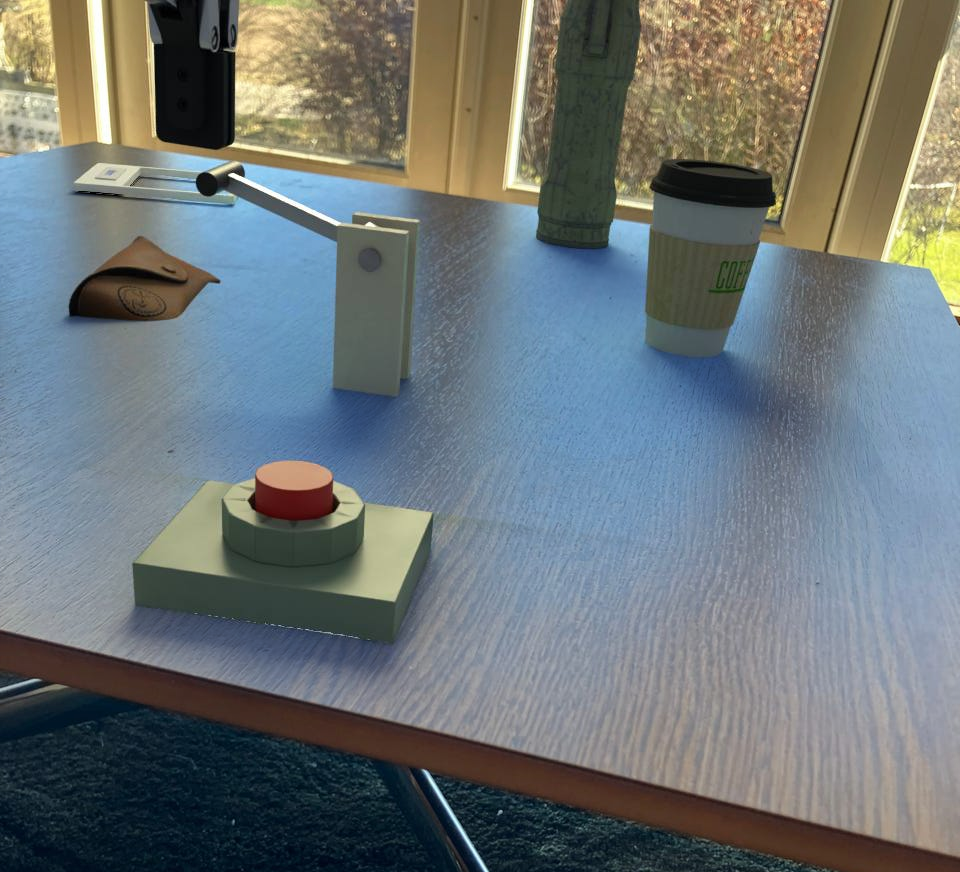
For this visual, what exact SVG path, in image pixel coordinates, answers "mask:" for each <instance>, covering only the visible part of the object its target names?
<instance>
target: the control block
mask: <svg viewBox="0 0 960 872" xmlns="http://www.w3.org/2000/svg"><path fill="white" fill-rule="evenodd" d="M434 516H435V514H434V512H432V511H425V510H417V509H411V508H406V507H405V508H404V507H397V506H391V505H390V506H389V505H383V504H376V503H370V502H369V503H368V502H365V501H363V499H362V498H361V497H360V495H359V494H358V493H357V491H356V490H355V489H354V488H353V487H350V486H347V485H345V484H343V483H340V482H338V481H335V480H333V505H332V513H331V514H329V515H326V516H324V517H321V518H319V519H313V520H300V521H290V520H283V519H276V518H270V517H267V516H265V515H263V514H261V513H259V512H257V511H256V509H255V477H252V478H249V479H247V480H244V481H241V482H238V483H231V482H224V481H217V480H210V479H208V480H206V482H204V484H203V485H202V486H200V488H199V489H198V490H197V492H195V494H194V495H193V496H192V497H191V498H190V499H189V500H188V501H187V502H186V503H185V504H184V506H183V507H182V508H181V509H180V510H179V511H178V513H176V514H175V516H173V518H172V519H170V521H169V522H168V523H167V524H166V525H165V526H164V528H163V529H162V530H161V531H160V532H159V533H158V534H157V535H156V536H155V538H153V540H152V541H150V543H149V544H148V545H147V546H146V547H145V549H143V551H141V553H140V554H139V555H138V556H137V557H136V558H135V559H134V561H132V565H131V566H132V580H133V593H134V594H133V595H134V596H133V597H134V605H135V606H137V605H141V606H140V607H144V606H147V607H146V608H150V607H153V608H152V609H157V608H160V609H159V610H163V611H170V610H172V611H171V612H177V611H179V612H178V613H183V612H186V613H185V614H190V613H192V614H191V615H195V614H194V613H197V614H204V615H207V616H206V617H209V616H208V615H211V616H218V617H221V618H220V619H222V617H225V618H228V619H227V620H229V619H232V618H233V619H235V620H234V621H236V620H242V621H250V622H252V623H251V624H255V623H254V622H256V623H260V624H259V625H262V624H265V623H266V624H268V625H271V624H274V625H276V626H278V625H281V626H284V627H293V628H295V629H297V628H301V629H303V630H305V629H309V630H313V631H322V632H331V633H333V634H343V635H345V636H346V635H347V636H353V637H358V638H360V639H366V640H365V641H367V639H370V640H373V641H376V642H375V643H380V642H387V643H390V644H389V645H393V644H394V643H395V641H396V638H397V635H398V632H399V631H400V628H401V626H402V623H403V620H404V619H405V615H406V613H407V610H408V608H409V606H410V603H411V600H412V598H413V596H414V592H415V590H416V588H417V585H418V583H419V581H420V578H421V576H422V573H423V571H424V568H425V565H426V563H427V561H428V558H429V555H430V553H431V551H432V550H431V549H432V540H433V539H432V538H433V527H434ZM164 609H166V610H164ZM242 621H241V622H242ZM268 625H267V626H268ZM295 629H294V630H295ZM360 639H359V640H360ZM373 641H372V642H373ZM379 641H380V642H379Z"/></svg>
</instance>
